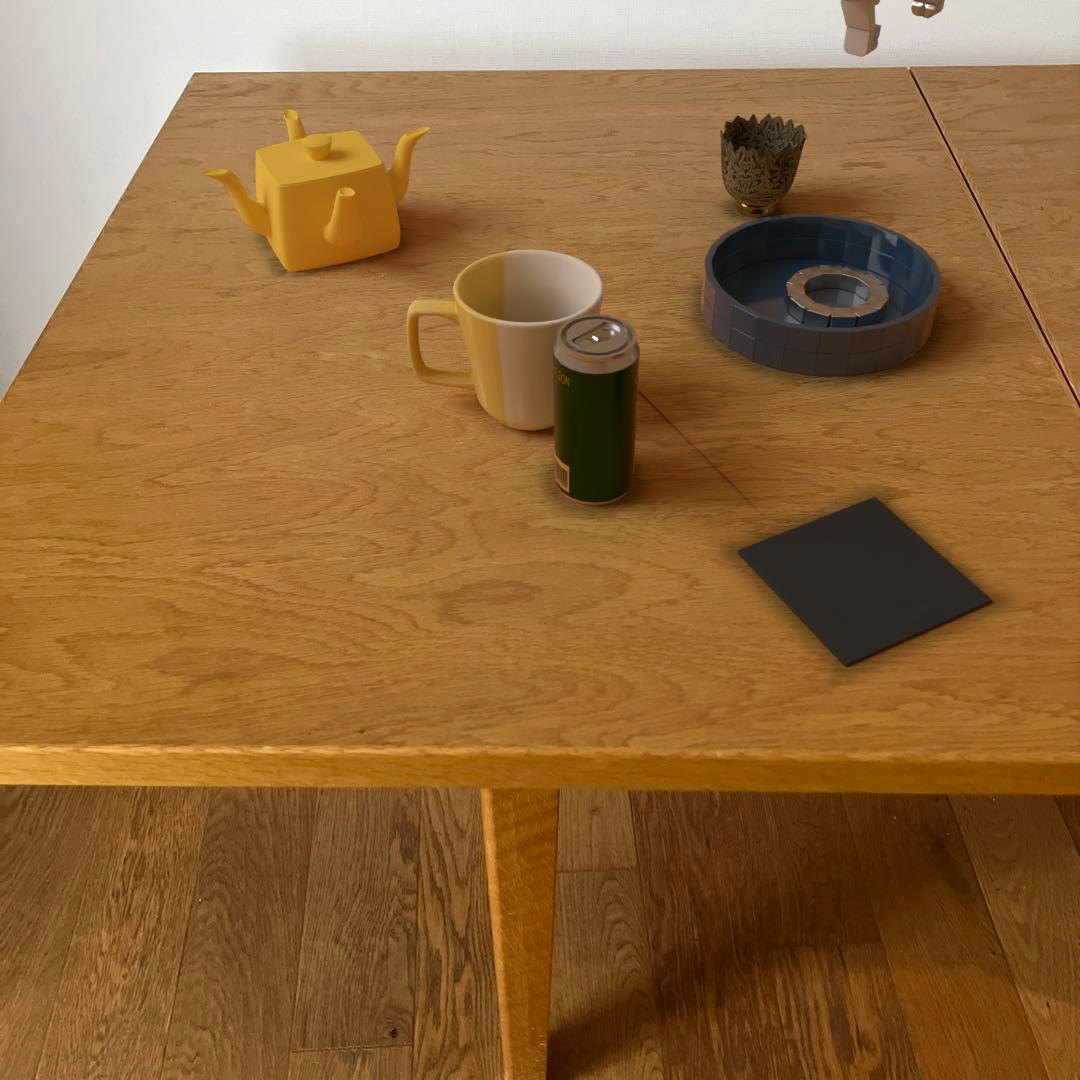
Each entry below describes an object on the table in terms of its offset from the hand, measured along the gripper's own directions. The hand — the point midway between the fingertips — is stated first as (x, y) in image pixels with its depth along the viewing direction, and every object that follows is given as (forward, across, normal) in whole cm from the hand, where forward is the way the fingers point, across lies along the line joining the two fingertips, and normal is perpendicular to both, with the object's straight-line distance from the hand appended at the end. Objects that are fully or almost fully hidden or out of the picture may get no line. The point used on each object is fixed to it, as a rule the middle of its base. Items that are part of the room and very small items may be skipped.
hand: (893, 32), depth 84 cm
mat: (+22, -28, -17) cm, 39 cm away
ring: (+21, -1, 0) cm, 21 cm away
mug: (+22, -28, +12) cm, 38 cm away
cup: (+22, +9, +14) cm, 28 cm away
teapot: (+22, -20, +41) cm, 50 cm away
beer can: (+22, -31, +1) cm, 38 cm away
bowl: (+22, -3, +1) cm, 22 cm away
